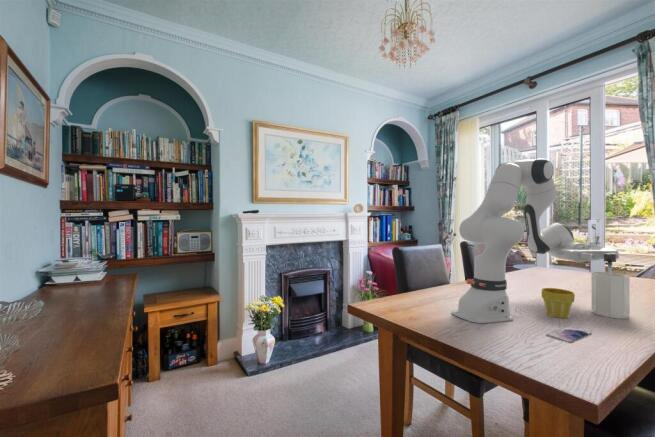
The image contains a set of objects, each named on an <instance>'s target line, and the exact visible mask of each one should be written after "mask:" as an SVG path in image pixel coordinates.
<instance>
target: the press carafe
mask: <svg viewBox="0 0 655 437" xmlns="http://www.w3.org/2000/svg"><path fill="white" fill-rule="evenodd" d="M590 274H591V275H590V276H591V284H590V285H591V310H592V313H593V314H594V315H597V316H600V317H604V318H609V319H618V320H627V319H629V318H630V317H629V316H630V302H631V301H630V293H631V292H630V287H631V286H630V285H631V284H630V279H631V278H630V275H626V274H623V273H615V272H612V276H608V271H605V272H604V271H594V272H593V271H592V272H591V273H590Z"/></svg>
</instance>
